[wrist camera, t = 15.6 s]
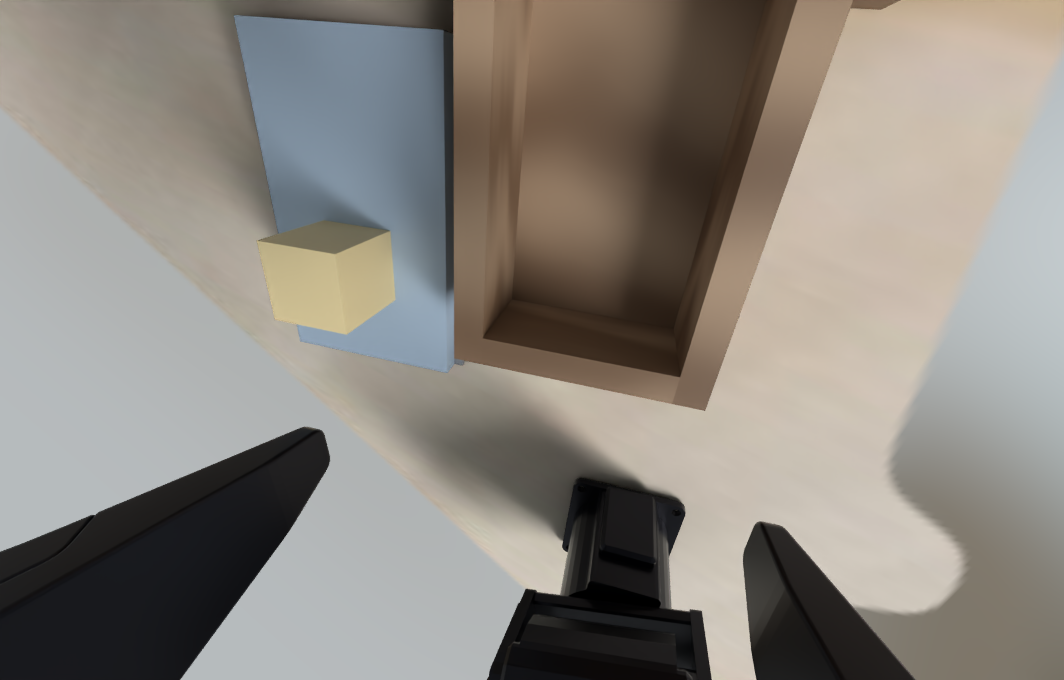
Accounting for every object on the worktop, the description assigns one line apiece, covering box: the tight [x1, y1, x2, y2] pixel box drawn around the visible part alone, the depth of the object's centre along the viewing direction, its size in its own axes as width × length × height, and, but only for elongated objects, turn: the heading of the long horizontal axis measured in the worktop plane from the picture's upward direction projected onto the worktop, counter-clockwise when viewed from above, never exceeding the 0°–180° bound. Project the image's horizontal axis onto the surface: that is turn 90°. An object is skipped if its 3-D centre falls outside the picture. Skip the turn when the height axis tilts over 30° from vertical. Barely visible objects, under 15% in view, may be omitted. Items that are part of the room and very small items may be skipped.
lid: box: [234, 15, 454, 373], centre depth 18 cm, size 15×9×5 cm, turn 175°
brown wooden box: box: [453, 0, 900, 411], centre depth 15 cm, size 17×26×7 cm, turn 85°
